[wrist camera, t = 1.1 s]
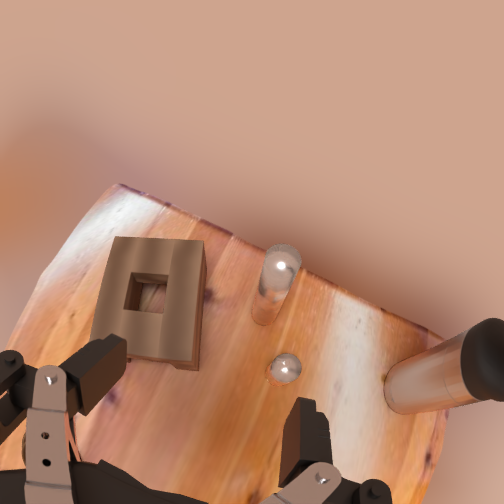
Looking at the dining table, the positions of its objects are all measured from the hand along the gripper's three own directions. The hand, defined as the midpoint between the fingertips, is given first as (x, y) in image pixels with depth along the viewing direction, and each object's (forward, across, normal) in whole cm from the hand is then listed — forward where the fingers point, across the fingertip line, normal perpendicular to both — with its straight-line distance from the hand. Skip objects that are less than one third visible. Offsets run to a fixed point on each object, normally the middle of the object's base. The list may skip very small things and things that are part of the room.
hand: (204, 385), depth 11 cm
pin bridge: (+26, +12, +12) cm, 31 cm away
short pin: (+23, -7, +15) cm, 28 cm away
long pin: (+29, -2, +9) cm, 30 cm away
